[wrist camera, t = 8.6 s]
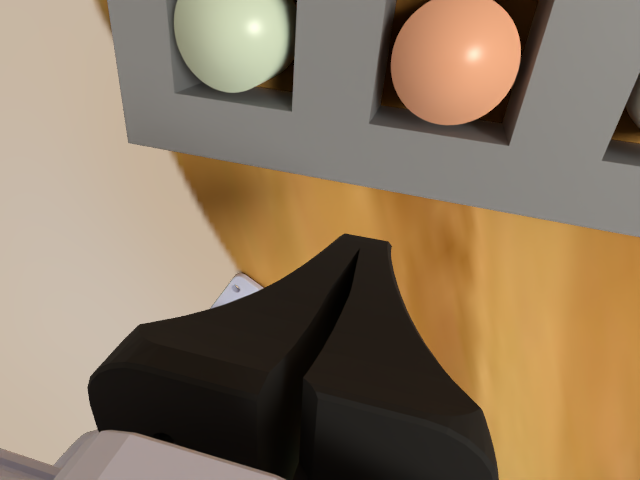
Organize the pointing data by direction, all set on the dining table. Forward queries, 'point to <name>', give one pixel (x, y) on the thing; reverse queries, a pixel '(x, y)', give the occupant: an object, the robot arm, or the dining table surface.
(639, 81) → the button cream
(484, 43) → the button terracotta
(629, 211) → the button panel
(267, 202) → the dining table surface
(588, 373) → the dining table surface
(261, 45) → the button sage
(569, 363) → the dining table surface
